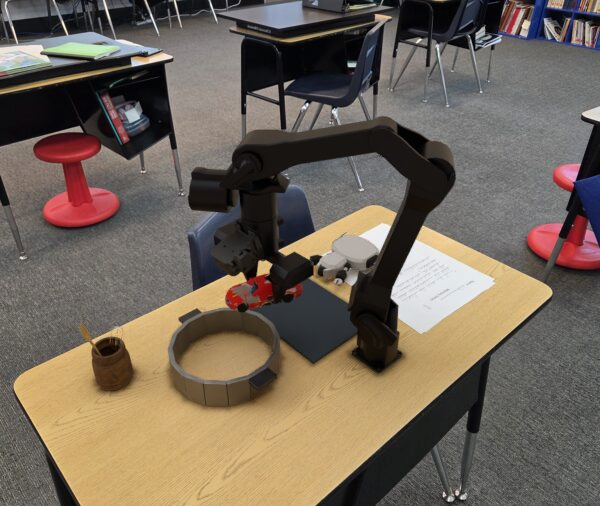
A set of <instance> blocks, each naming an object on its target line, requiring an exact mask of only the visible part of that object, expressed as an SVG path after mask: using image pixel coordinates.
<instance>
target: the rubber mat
mask: <svg viewBox="0 0 600 506" xmlns="http://www.w3.org/2000/svg"><path fill="white" fill-rule="evenodd" d="M301 284H302V288H303V292H302V295H301V296H300V297H298V298H296V299H294V297H293V300H292V301H291V302H289V303H285V302H283V300H282V303H278V304H272V305H268V306H263V307H258V308H254V309H250V308H248V310H250V311H254V312H257V313H260V314H261V315H263V316H264V317H265V318H267V319H268V320H269V321H271V322H272V323H273V324H274V326H275V328H276V330H277V332H278V334H279V336H280V340H282V341H284V342H285V344H287V345H288V346H290V347H291V348H293V350H295V351H296V352H298V353H299V354H300V355H301V356H303V357H304V358H305V359H307V360H308V361H309V362H310V363H312V364H316V363H317V362H318V361H320V360H321V359H323V358H324V357H325V356H327V355H328V354H330V353H332V352H333V351H334V350H336V349H337V348H339V347H340V346H342V345H343V344H345V343H346V342H348V341H349V340H350V339H352V338H354V337H355V336H357V328H356V327H355V326H354V325H353V324H352V322H351V321H350V313H351V311H347V310H348V304H349V302H347V301H345V300H344V299H342V298H340V297H339V296H337V295H336V294H334V293H333V292H331V291H329V290H328V289H326V288H324V287H323V286H321V285H320V284H318V283H317V282H315V281H314V280H312V279H310V278H308V279H306V280H305V281H303V282H301Z"/></svg>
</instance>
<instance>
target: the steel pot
mask: <svg viewBox="0 0 600 506" xmlns="http://www.w3.org/2000/svg"><path fill="white" fill-rule="evenodd" d="M178 322H180V323H181V324H180V326H179V327H178V328H177V329H176V330H175V331H174V332H173V333H172V335H171V338H170V340H169V344H168V346H167V355H168V360H169V365H170V372H171V376H172V381H173V385H174V387H175V388H176V389H177V390H178V391H179V392H180V393H181V395H183V397H185V398H186V399H187V400H189V401H192V402H194V403H197V404H200V405H202V406H205V407H223V408H224V407H225V408H226V407H234V406H237V405H240V404H243V403H247V402H251V401H253V400H254V399H256V398H257V397H259V396H260V395H262V394H263V393H265V392H266V391H268V390H269V389H270V388H271V386H272V385H273V383H274V382H275V381H276V380H277V379H278V376H279V373H280V366H281V338H280V336H279V334H278V332H277V330H276V328H275V326H274V324H273V323H272V322H271V321H269V320H268V319H267V318H265V317H264V316H263V315H261V314H260V313H257V312H254V311H250V310H247V311H246V312H243V313H241V312H239V311H238V310H237V311H235V310H232V309H230V308H229V307H219V308H214V309H210V310H205V311H201V310H200V309H199V308H197V307H196V308H194V309H192V310H190V311H188V312H186V313H184V314H183V315H180V316H179V317H178ZM223 332H235V333H236V332H241V333H242V332H243V333H246V334H248V335H251V336H254V337H257V338H259V339H260V340H262V341H263V342H264V343H265V344H266V345H268V346H269V347H270V349H271V351H272V352H271V354H270V355H269V357H268V358H267V359H266V360H265V362H264V364H262V365H261V366H259V367H257V368H256V369H254V370H253V371H251V372H249V373H248V374H246V375H243V376H239V377H235V378H231V379H228V380H219V379H218V380H216V379H215V380H214V379H204V378H201V377H198V376H196V375H194V374H190V373H187V371H185V369H183V368H182V366H181V365H180V364H179V363H180V359H181V356H182V355H183V354H184V353H185V352H186V351H187V350H188V348H189V347H190V346H191V345H192V344H194V343H196V342H198V341H200V340H202V339H203V338H205V337H207V336H210V335H215V334H219V333H223Z"/></svg>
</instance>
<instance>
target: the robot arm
mask: <svg viewBox="0 0 600 506" xmlns="http://www.w3.org/2000/svg"><path fill="white" fill-rule="evenodd" d="M374 153H375V154H377V155H379V156H380V157H381V158H383V159H385V161H386V162H388V163H389V164H390V165H391V166H392V167H393V168H394V169H395V170H396V171H397V172H398V174H400V175H401V176H402V177H404V178H405V179H406V180H407V181H406V185H405V191H404V196H403V199H402V201H401V204H400V205H399V208H398V210H397V212H396V215H395V217H394V219H393V221H392V224H391V225H390V228H389V231H388V232H387V234H386V237H385V239H384V242H383V244H382V246H381V248H380V250H379V255H378V257H377V260H376V262H375V264H374V266H373V267H371V268H370V270H369V271H368V272H367V273H365V272H364V271H363V270H358V273H357V278H356V280H355V282H354V283H353V284H352V285H351V287H350V292H349V293H350V294H349V299H348V310H347V311H351V313H350V321H351V322H352V324H353V325H354V326H355V327H356V328H357V334H356V346H357V347H355V348H354V349H352V350H351V356H353V357H354V358H356V359H357V360H358V361H360V362H361V363H362V364H365V366H367V367H368V368H370V369H371V370H372V371H374V372H376V373H377V374H381V373H383V372H384V371H385V370H386V369H388V368H389V367H390V366H392V365H393V364H394V363H395V362H396V361H397V360H399V359H401V358H402V357H403V352H402V351H401V350H399V341H400V335H401V334H400V333H401V332H400V331H399V330H398V329H399V328H398V325H399V309H400V307H399V304H398V303H397V302H396V301H395V300H394V299H392V293H393V289H394V286H395V284H396V283H397V280H398V278H399V275H400V274H401V272H402V269H403V267H404V265H405V263H406V261H407V259H408V257H409V255H410V252H411V250H412V248H413V247H414V244H415V242H416V240H417V238H418V237H419V234H420V232H421V230H422V227H423V226H424V224H425V222H426V220H427V218H428V216H429V215H430V214H431V213H432V212H434V210H435V209H437V208H438V207H439V206H440V205H441V204H442V203H443V202H444V200H445V199H446V197H447V196H448V195H449V194H450V192H451V191H452V190H453V188H454V186H455V184H456V180H457V174H456V167H455V166H456V165H455V159H454V154H453V151H452V148H450V147H449V145H447V144H446V143H444V142H442V141H438V140H431V139H429V138H428V137H426V135H425V136H424V135H423V134H422V133H420V132H419V131H417V130H414V129H411V128H409V127H407V126H405V125H402V124H400V123H399V122H397V121H396V120H395V119H394V118H392V117H390V116H386V115H380V116H377V117H375V118H373V119H367V120H362V121H361V120H360V121H356V122H355V121H354V122H350V123H344V124H338V125H331V126H326V127H320V128H315V129H314V128H313V129H309V130H303V131H285V130H282V129H274V128H273V129H272V128H271V129H268V128H267V129H265V128H264V129H262V128H261V129H253V130H251V131H248V132H247V133H246V134H245V135H244V137H243V138H242V139H241V141H240V142H239V143H238V145H237V146H236V148H235V149H234V151H233V152H232V155H231V163H230V165H229V166H228V167H227V169H218V168H207V167H204V166H195V168H193V170H192V171H191V172H190V176H191V180H190V183H189V187H188V195H187V204H188V206H189V208H190V210H191V211H194V212H195V211H196V212H208V213H219V214H220V213H221V214H229V213H230V212H231V211H232V209H233V208H236V207H237V206H238V205H239V209H240V218H237V219H235V220H234V221H231V222H229V223H227V224H224V225H222V226H221V227H218V228H216V230H215V232H214V234H213V243H214V247H213V248H212V249H211V250H210V256H211V257H212V259H213V261H214V263H215V264H216V266H217V269H220V270H222V271H223V272H225V274H227V275H228V276H229V277H236V276H238V275H239V274H240V273H242V275H243V276H244V279H245V282H247V281H248V280H249V278H250V277H251V279H252V278H254V277H257V276H258V269H259V262H260V261H261V262H266V261H267V262H268V263H269V264H271V266H270V268H269V270H268V271H269V272H268V274H270V275H268V276H266V277H264V279H266V280H268V281H269V282H271V286H272V293H273V299H274V303H275V304H278V303H279V302H281V300H282V298H283V296H284V294H285V292H286V291H287V289H291V288H293V287H294V286H296V285H298V284H299V283H301V282H303V281H305V280H306V279H308V278H309V279H310V278H311V277H313V276H315V266H314V262H312V261H310V260H309V259H310V258H308V257H305V256H303V255H302V254H300V253H298V252H296V251H293V252H290V253H289V254H287V255H286V254H284V253H282V252H280V251H279V249H281V248H283V247H284V246H285V239H283V238H281V237H280V236H279V235H280V232H279V230H280V229H279V227H280V226H281V225H284V224H285V220H284V219H285V218H284V217H283V216H280V215H279V211H278V210H279V209H278V208H279V207H278V194H286V193H287V190H288V188H289V186H290V183H291V180H290V179H289V178H287V177H286V176H284V175H283V174H282V173H283V172H284V171H286V170H288V169H290V168H292V167H296V166H298V165H306V164H311V163H318V162H324V161H330V160H337V159H343V158H344V159H345V158H351V157H357V156H364V155H369V154H374ZM238 203H239V204H238Z"/></svg>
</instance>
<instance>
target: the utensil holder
mask: <svg viewBox="0 0 600 506" xmlns="http://www.w3.org/2000/svg"><path fill="white" fill-rule="evenodd" d="M115 329H116V330H115ZM120 329H121V330H120ZM78 330H79V332H80V333H81V335H82V337H83V338H84V340H85V342H86V343H89V344H90V346H92V347H91V350H90V351H91V353H90V355H91V358H92V359H91V366H92V371H93V374H94V378H95V381H96V383H97V385H98V386H99V388H101V389H103V390H105V391H116V390H120V389H122V388H124V387H125V386H127V385H128V384H129V383H130V382H131V380H132V379H133V376H134V369H133V368H134V367H133V363H132V359H131V356H130V352H129V350H128V349H127V346H126V344H125V342H124V341H125V340H124V339H123V338H120V337H119V336H112V335H109V336H106V337H102V338H100V339H98V340H97V341H96V342H95V343H94V342H93V340H92V336H91V334H90V332H89V331H88V330H87V328H86V326H85V325H84V324H83V322H79V327H78ZM118 330H119V333H120V334H121V336H124V332H125V331H124V329H123V327H122V326H121V325H116V326H115V325H114V326H112V327H111V328H110V329H109V331H108V332H110V331H111V333H110V334H113V331H116V333H118Z"/></svg>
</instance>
